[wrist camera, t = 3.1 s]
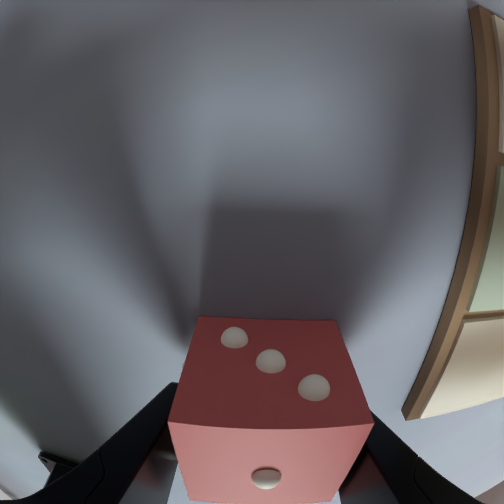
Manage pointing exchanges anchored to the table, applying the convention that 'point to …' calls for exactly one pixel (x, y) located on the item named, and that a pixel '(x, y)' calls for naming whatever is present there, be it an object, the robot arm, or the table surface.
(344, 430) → the die
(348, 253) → the table surface
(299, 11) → the table surface
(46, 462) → the robot arm
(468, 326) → the board
